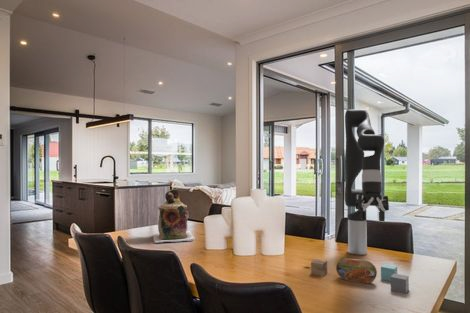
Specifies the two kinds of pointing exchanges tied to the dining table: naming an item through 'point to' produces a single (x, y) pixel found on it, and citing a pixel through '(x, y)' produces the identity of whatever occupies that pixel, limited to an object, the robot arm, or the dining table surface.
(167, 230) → the cookie jar
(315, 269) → the brownish grey cube
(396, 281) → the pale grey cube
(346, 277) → the tin
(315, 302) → the dining table surface
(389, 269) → the slate-teal cube
